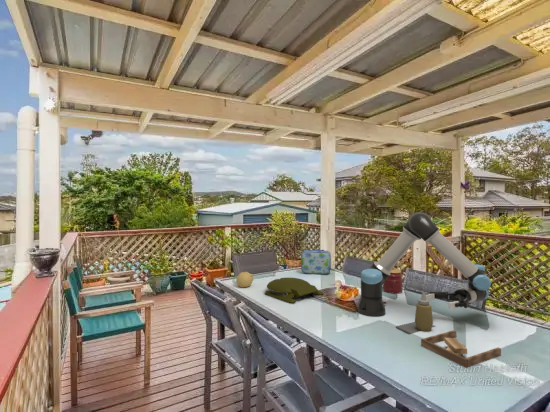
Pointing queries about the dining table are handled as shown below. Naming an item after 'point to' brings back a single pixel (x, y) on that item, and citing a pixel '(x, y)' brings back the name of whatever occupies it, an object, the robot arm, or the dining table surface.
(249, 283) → the tan round lump
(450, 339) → the offcut top
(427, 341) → the walnut open frame
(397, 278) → the canister
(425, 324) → the squeeze bottle
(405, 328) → the charcoal mat
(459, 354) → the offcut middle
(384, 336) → the dining table surface
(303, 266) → the lunch box
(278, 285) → the green turtle
